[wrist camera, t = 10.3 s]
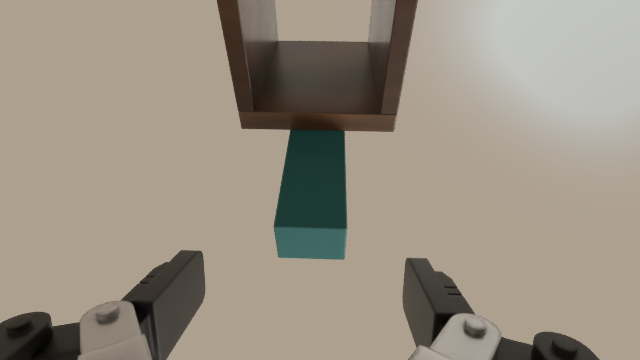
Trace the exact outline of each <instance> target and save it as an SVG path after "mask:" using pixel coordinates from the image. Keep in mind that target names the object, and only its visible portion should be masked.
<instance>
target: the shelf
mask: <svg viewBox="0 0 640 360" xmlns="http://www.w3.org/2000/svg"><path fill="white" fill-rule="evenodd" d="M417 2H418V0H372V5H371V16H370V26H369V37H368V42H331V41H329V42H327V41H278V33H277V22H276V10H275V0H217V4H218V9H219V14H220V19H221V24H222V30H223V35H224V40H225V45H226V50H227V56H228V61H229V66H230V71H231V76H232V81H233V87H234V92H235V97H236V102H237V107H238V111H239V117H240V122H241V127H242V129H284V130H286V129H287V130H332V131H383V132H393V131H394V129H395V123H396V117H397V112H398V107H399V102H400V96H401V91H402V84H403V80H404V74H405V68H406V63H407V57H408V52H409V46H410V40H411V35H412V30H413V24H414V19H415V13H416V8H417Z"/></svg>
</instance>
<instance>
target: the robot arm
mask: <svg viewBox="0 0 640 360" xmlns="http://www.w3.org/2000/svg"><path fill="white" fill-rule="evenodd" d="M204 295H205V276H204V261H203V254H202V252H201V251H188V250H181V251H180V252H179V253H178V254H177V255H176V256H175V257H174V258H173V259H172V260H171V261H170V262H166V263H164V264H162V265H160V266H158V267H156V268H154V269H153V270H152V271H151V272H150V273H149V274H148V275H147V276H146V277H145V278H144V279H142V280H141V281H140V284H137V285H136V286H135V287H134V288H133V289H132V290H131V291H130V292H129V293H128V294H127V295H126V296H125V297H124V298H123V299H122V300H120V301H111V302H107V303H104V304H101V305H98V306H96V307H94V308H92V309H90V310H89V311H87V312H86V313H85V314H84V315H83V316H82V317H81V319H80V322H78V323H72V324H66V325H60V326H53V327H52V322H51V317H50V315H49V314H47V313H44V312H31V313H26V314H22V315H18V316H15V317H13V318H10V319H8V320H6V321H3V322H2V323H0V360H166V359H167V357H168V356H169V354H170V352H171V351H172V350H173V348H174V346H175V345H176V343H177V342H178V340H179V339H180V337H181V335H182V334H183V332H184V331H185V329H186V328H187V326H188V324H189V323H190V321H191V320H192V318H193V317H194V315H195V313H196V312H197V310H198V309H199V307H200V306H201V304H202V302H203V299H204ZM403 308H404V312H405V315H406V318H407V321H408V324H409V327H410V330H411V333H412V335H413V338H414V342H415V345H416V347H417V349H416V350H415V352H414V353H413V354H412V355H411V357H410V358H409V359H408V360H599V359H598V358H597V357H596V355H595V354H594V353H593V352H592V351H591V350H590V349H589V348H587V347H586V346H585V345H583V344H582V343H580V342H579V341H576V340H575V339H573V338H571V337H568V336H566V335H562V334H559V333H554V332H541V333H538V334H536V335H535V337H534V340H533V345H530V344H526V343H521V342H517V341H513V340H509V339H506V338H503V337H501V332H500V330H499V328H498V327H497V326H496V325H495V324H494V323H492V322H491V321H489V320H487V319H486V318H483V317H481V316H478V315H475V314H474V312H473V310H472V309H471V307H470V306H469V304H468V303H467V301H466V300H465V298H464V297H463V296H462V294H461V292H460V291H459V289H457V286H456V285H455V283H454V282H453V280H452V279H451V278H449V277H448V276H446V275H445V274H444V273H443V272H436V271H434V270H433V268H432V266H431V264H430V263H429V261H428V260H427V259H426V258H407V259H406V263H405V274H404V286H403Z"/></svg>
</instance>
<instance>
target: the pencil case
mask: <svg viewBox="0 0 640 360" xmlns="http://www.w3.org/2000/svg"><path fill="white" fill-rule="evenodd" d="M345 166H346V165H345V132H344V131H332V130H290V135H289V141H288V147H287V153H286V158H285V164H284V170H283V176H282V182H281V187H280V193H279V199H278V205H277V210H276V216H275V222H274V232H275V239H276V245H277V251H278V257H279V258H309V259H342V260H343V259H344V258H345V248H346V236H347V205H346V167H345Z"/></svg>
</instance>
